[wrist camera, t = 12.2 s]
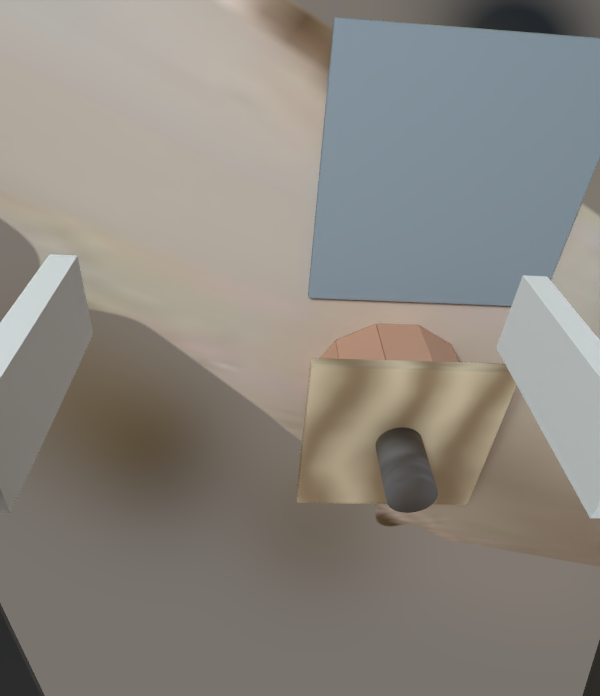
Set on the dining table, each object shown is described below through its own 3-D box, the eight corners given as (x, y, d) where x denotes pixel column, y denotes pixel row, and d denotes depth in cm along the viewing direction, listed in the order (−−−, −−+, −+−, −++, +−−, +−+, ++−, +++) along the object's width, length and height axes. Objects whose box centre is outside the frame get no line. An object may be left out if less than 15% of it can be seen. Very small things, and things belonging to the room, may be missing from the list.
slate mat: (641, 41, 38) (645, 42, 37) (536, 303, 51) (539, 307, 51) (333, 17, 36) (334, 17, 36) (308, 294, 50) (308, 297, 49)
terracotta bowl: (477, 327, 53) (501, 373, 47) (440, 440, 62) (457, 489, 57) (316, 321, 51) (321, 367, 46) (303, 437, 61) (306, 487, 55)
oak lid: (516, 364, 46) (551, 423, 41) (464, 495, 57) (485, 556, 51) (310, 357, 45) (316, 418, 39) (296, 493, 56) (299, 555, 50)
